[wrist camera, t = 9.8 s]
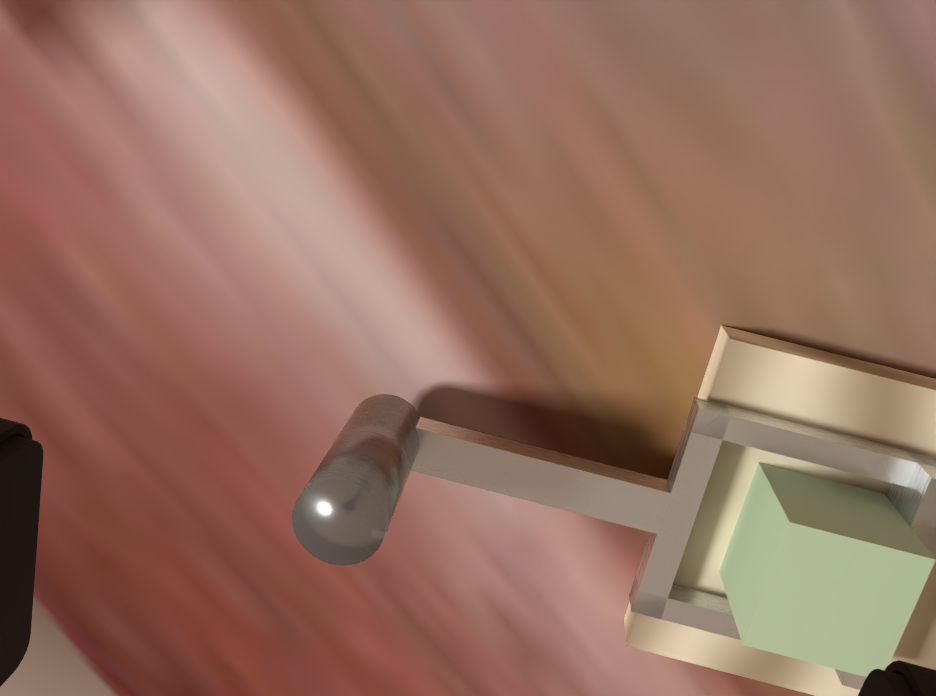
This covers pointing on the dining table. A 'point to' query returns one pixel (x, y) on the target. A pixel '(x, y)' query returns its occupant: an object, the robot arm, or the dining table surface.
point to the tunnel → (813, 404)
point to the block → (822, 571)
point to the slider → (583, 489)
